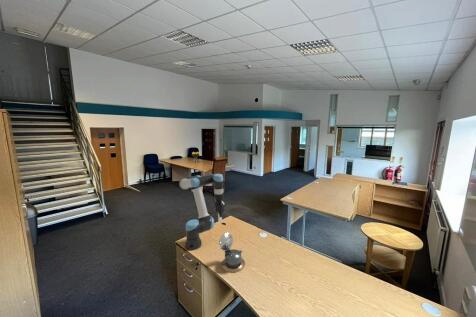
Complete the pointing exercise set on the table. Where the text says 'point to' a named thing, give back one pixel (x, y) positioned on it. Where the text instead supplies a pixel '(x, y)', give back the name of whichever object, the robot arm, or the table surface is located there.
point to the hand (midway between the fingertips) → (220, 220)
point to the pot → (233, 261)
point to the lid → (226, 241)
